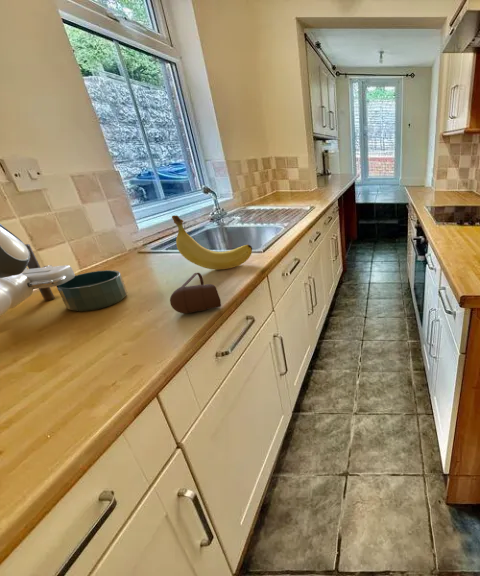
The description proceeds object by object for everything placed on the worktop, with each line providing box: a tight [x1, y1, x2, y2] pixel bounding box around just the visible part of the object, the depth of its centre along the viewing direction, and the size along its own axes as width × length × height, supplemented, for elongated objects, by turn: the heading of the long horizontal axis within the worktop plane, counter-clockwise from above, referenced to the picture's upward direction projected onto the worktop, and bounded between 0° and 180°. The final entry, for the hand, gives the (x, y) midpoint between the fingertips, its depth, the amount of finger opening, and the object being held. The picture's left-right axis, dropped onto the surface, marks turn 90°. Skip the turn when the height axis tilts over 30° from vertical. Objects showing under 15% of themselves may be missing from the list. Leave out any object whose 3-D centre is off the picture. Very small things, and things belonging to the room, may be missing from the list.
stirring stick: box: [24, 243, 56, 302], centre depth 88 cm, size 2×2×16 cm
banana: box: [171, 215, 253, 270], centre depth 109 cm, size 23×6×20 cm, turn 122°
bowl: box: [56, 269, 128, 312], centre depth 88 cm, size 13×13×7 cm
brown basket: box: [169, 272, 222, 314], centre depth 87 cm, size 18×12×7 cm, turn 23°
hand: (37, 269), depth 88 cm, fingers open, 4 cm apart
